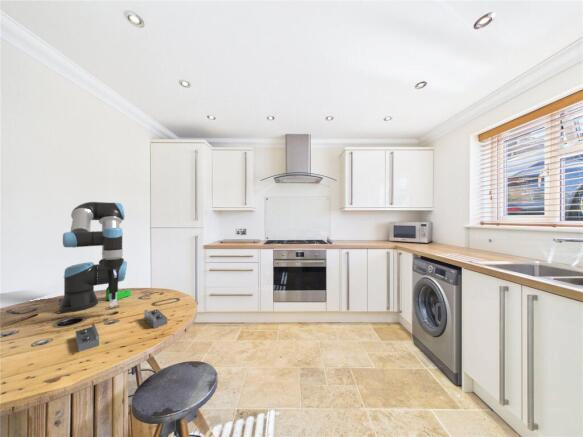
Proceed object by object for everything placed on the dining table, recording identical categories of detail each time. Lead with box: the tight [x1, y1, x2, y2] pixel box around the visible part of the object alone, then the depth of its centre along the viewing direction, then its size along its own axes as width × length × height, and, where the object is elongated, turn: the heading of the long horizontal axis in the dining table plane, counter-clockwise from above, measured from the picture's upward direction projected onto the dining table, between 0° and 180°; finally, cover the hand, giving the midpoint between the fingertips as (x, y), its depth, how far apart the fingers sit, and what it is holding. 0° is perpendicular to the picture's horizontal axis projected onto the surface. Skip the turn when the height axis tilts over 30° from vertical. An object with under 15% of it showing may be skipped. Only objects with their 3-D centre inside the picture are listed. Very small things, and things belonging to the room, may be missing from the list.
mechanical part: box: [105, 286, 132, 301], centre depth 136 cm, size 12×6×8 cm, turn 163°
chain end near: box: [75, 323, 100, 353], centre depth 85 cm, size 14×6×4 cm, turn 48°
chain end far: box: [143, 308, 168, 329], centre depth 103 cm, size 14×6×4 cm, turn 48°
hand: (113, 305), depth 111 cm, fingers closed
